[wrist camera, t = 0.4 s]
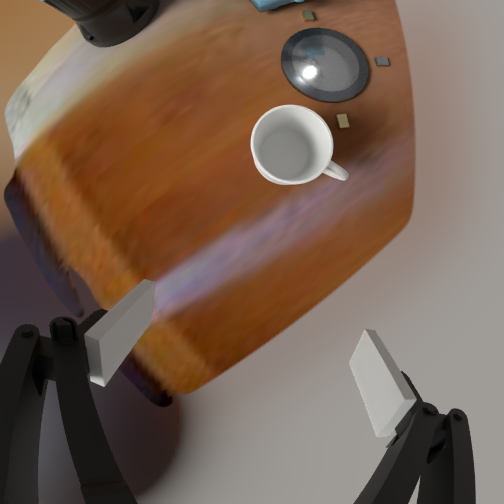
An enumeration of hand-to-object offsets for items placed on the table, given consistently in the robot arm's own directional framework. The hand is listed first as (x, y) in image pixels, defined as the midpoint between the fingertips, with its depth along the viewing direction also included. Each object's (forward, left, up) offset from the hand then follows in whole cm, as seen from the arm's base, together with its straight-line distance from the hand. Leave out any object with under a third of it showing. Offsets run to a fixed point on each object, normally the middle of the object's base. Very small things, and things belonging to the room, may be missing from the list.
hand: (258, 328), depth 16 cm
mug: (-10, +7, -25) cm, 28 cm away
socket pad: (-24, +17, -25) cm, 38 cm away
